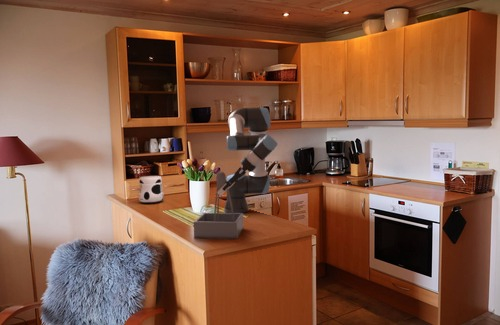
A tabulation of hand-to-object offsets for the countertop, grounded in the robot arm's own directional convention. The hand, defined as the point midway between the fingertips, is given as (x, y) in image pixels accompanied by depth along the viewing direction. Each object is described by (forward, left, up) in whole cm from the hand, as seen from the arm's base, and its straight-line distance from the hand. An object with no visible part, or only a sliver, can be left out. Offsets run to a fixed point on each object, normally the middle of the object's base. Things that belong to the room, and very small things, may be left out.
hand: (221, 191), depth 208 cm
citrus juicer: (0, -1, -20) cm, 20 cm away
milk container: (-79, -67, -21) cm, 105 cm away
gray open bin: (-1, -2, -21) cm, 21 cm away
